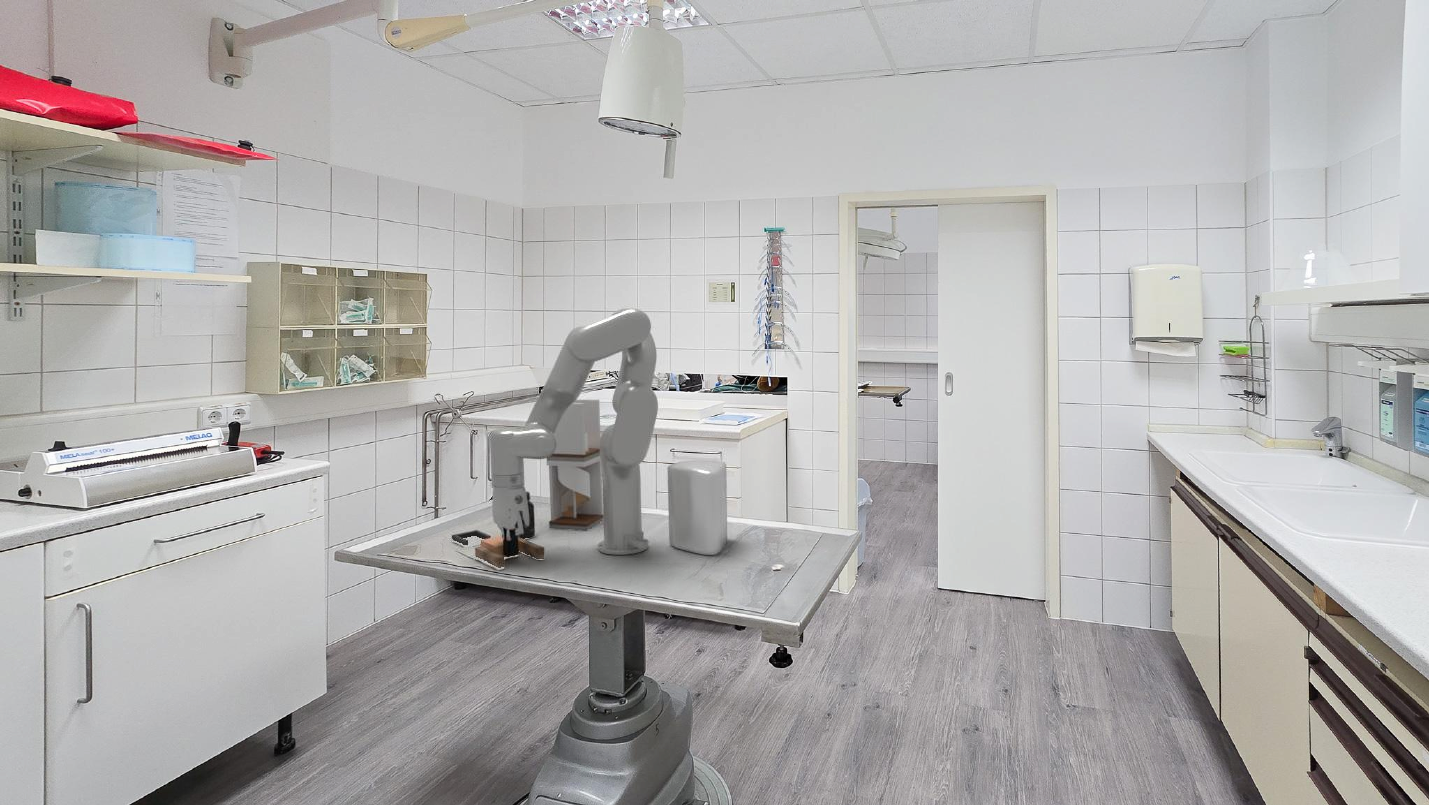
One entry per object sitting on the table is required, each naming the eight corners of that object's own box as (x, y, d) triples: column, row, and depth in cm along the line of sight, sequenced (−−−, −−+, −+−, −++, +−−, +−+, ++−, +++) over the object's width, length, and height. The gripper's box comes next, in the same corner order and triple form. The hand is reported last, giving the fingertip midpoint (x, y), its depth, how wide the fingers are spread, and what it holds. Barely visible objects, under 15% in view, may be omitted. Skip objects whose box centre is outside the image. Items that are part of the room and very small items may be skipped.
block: (519, 557, 194) (518, 541, 194) (496, 562, 190) (495, 546, 190) (503, 550, 200) (502, 535, 199) (481, 556, 196) (480, 540, 195)
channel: (544, 559, 191) (544, 547, 191) (498, 571, 183) (498, 558, 183) (520, 549, 200) (519, 537, 199) (475, 559, 192) (475, 547, 191)
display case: (549, 528, 219) (544, 403, 215) (567, 518, 229) (562, 399, 225) (586, 531, 216) (582, 403, 212) (603, 521, 226) (599, 399, 222)
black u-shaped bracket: (490, 542, 206) (490, 535, 206) (465, 548, 201) (465, 541, 201) (477, 536, 212) (476, 530, 212) (452, 541, 207) (451, 535, 207)
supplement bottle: (503, 538, 210) (501, 494, 208) (521, 532, 216) (519, 489, 214) (523, 541, 206) (521, 496, 205) (540, 535, 212) (538, 491, 211)
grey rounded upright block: (718, 556, 191) (716, 467, 188) (661, 554, 194) (659, 466, 191) (729, 539, 206) (728, 456, 203) (676, 537, 208) (674, 455, 206)
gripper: (538, 482, 185) (541, 558, 187) (507, 473, 196) (510, 545, 198) (509, 487, 180) (512, 565, 182) (478, 478, 191) (482, 552, 193)
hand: (511, 555), depth 190 cm, fingers closed
